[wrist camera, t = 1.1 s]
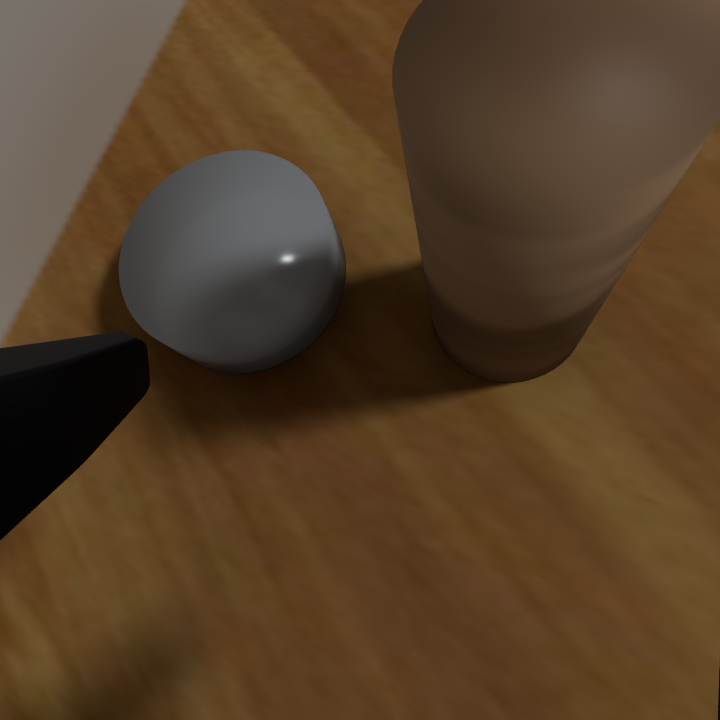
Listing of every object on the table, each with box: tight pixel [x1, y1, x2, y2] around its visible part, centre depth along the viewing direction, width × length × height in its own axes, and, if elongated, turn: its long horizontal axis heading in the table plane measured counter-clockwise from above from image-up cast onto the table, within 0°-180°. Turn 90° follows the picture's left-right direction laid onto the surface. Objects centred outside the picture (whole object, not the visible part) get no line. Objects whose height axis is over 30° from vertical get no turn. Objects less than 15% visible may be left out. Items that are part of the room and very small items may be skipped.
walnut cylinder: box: [392, 0, 720, 382], centre depth 16 cm, size 6×6×12 cm
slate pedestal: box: [119, 150, 346, 373], centre depth 23 cm, size 9×9×3 cm
